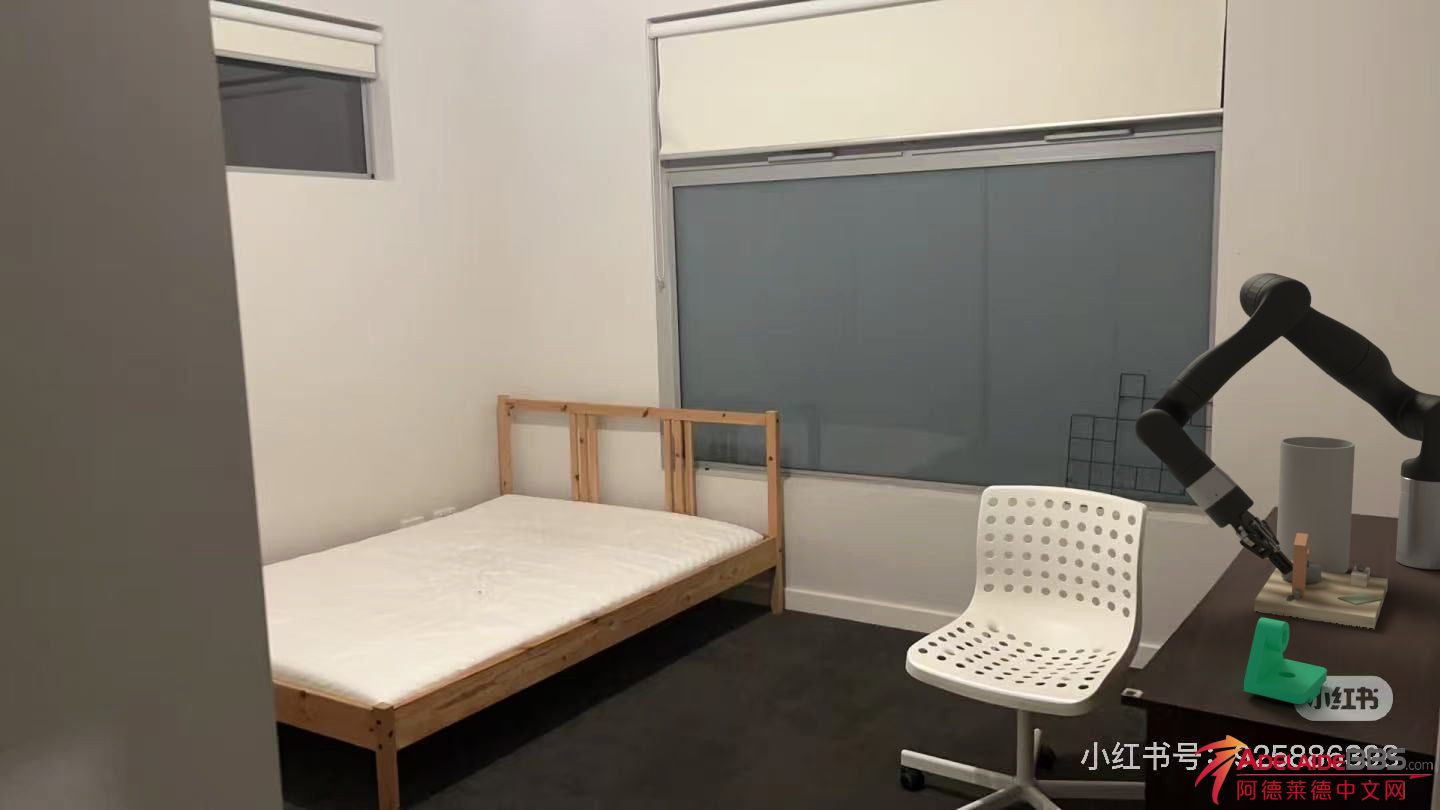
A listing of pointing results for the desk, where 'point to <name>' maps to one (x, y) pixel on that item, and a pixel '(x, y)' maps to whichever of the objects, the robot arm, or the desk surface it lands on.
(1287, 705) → the desk surface
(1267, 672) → the camera mount
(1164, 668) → the desk surface
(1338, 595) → the level stand
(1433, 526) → the robot arm
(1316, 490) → the cylinder vase
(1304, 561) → the orange grey panel fixture
